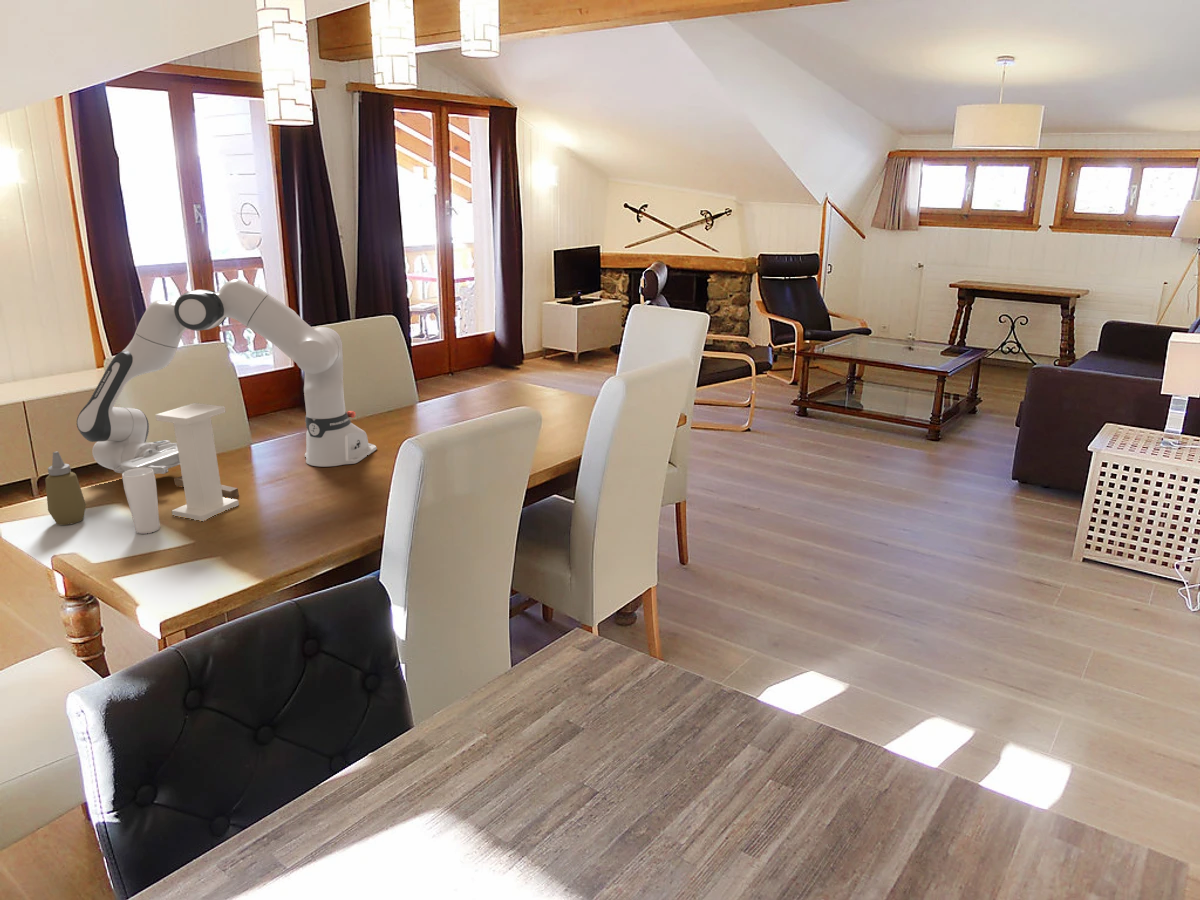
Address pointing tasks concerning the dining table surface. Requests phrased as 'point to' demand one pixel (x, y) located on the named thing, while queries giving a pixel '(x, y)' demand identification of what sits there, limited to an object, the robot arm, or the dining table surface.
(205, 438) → the shelf stand
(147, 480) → the drinking glass
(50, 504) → the squeeze bottle
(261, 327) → the robot arm
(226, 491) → the walnut bar
